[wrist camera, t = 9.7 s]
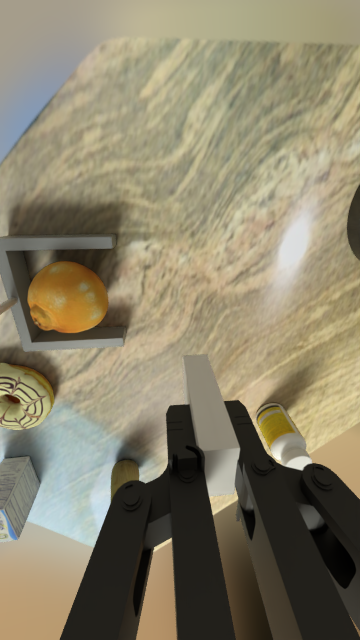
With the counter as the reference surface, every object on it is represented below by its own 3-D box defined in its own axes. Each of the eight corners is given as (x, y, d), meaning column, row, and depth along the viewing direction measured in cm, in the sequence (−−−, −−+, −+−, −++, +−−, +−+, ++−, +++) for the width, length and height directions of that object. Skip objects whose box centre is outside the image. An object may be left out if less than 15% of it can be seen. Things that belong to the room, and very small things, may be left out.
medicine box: (3, 457, 42) (-31, 514, 34) (30, 454, 43) (3, 510, 35) (16, 486, 46) (-13, 544, 38) (41, 484, 46) (18, 541, 38)
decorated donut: (-5, 345, 34) (-23, 360, 31) (69, 377, 37) (60, 394, 34) (-30, 397, 37) (-48, 417, 34) (41, 423, 40) (31, 443, 37)
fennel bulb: (142, 473, 47) (139, 552, 36) (117, 478, 47) (106, 558, 36) (136, 452, 45) (131, 530, 34) (109, 457, 45) (95, 537, 34)
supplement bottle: (248, 419, 44) (272, 472, 35) (267, 397, 43) (297, 447, 34) (271, 428, 46) (299, 481, 37) (290, 408, 44) (325, 458, 35)
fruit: (63, 323, 34) (38, 355, 26) (33, 265, 30) (-5, 283, 23) (121, 307, 34) (112, 334, 26) (97, 247, 30) (79, 259, 23)
